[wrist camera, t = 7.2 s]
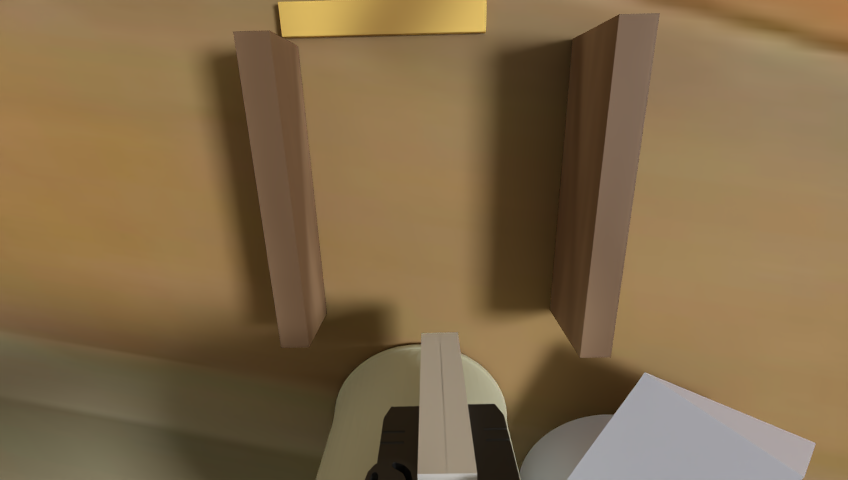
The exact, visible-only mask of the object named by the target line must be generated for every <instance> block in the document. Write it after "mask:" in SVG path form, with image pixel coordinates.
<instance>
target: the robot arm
mask: <svg viewBox="0 0 848 480" xmlns="http://www.w3.org/2000/svg"><path fill="white" fill-rule="evenodd" d="M365 480H520V477H519V473H518V469H517V465H516V461H515V457H514V453H513V449H512V445H511V441H510V437H509V433H508V431H507V425H506V421H505V417H504V415H503V413H502V412H501V411H500V410H499V408H498V407H497V406H496V405H495V404H468V403H467V396H466V388H465V381H464V374H463V366H462V359H461V352H460V345H459V337H458V332H449V333H422V334H421V369H420V403H419V406H398V407H391V408H390V409H389V411H388V412H387V414H386V415H385V417H384V419H383V426H382V434H381V439H380V446H379V453H378V460H377V464H375V465H374V466H373V467H372V468H371V469H370V470H369V471H368V473H367V475H366V478H365Z"/></svg>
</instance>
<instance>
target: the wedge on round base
mask: <svg viewBox="0 0 848 480" xmlns="http://www.w3.org/2000/svg"><path fill="white" fill-rule="evenodd" d="M815 444H816V443H814V442H812V441H809V440H807V439H804V438H802V437H800V436H797V435H795V434H792V433H790V432H787V431H785V430H783V429H780V428H778V427H775V426H773V425H771V424H768V423H766V422H763V421H761V420H759V419H756V418H754V417H751V416H749V415H747V414H744V413H742V412H739V411H737V410H734V409H732V408H730V407H727V406H725V405H722V404H720V403H718V402H715V401H713V400H710V399H708V398H706V397H703V396H701V395H698V394H696V393H694V392H691V391H689V390H686V389H684V388H681V387H679V386H677V385H674V384H672V383H669V382H667V381H665V380H662V379H660V378H657V377H655V376H653V375H650V374H648V373H644V374H643V376H642V377H641V378H640V380H639V381H638V383H637V384H636V385H635V387H634V388H633V389H632V391H631V392H630V394H629V395H628V396H627V398H626V399H625V400H624V402H623V403H622V405H621V406H620V407H619V409H618V410H617V411H616V413H615V414H614V415H606V414H603V415H593V416H587V417H583V418H579V419H576V420H573V421H569V422H567V423H565V424H563V425H560V426H559V427H557V428H555V429H553V430H552V431H550V432H549V433H547V434H546V435H545V436H543V437H542V438H541V439H540V440H539V441H538V442H537V443H536V444H535V445H534V446H533V447H532V448H531V450H530V451H529V452H528V454H527V456H526V457H525V459H524V461H523V464H522V466H521V469H520V474H519V475H520V479H521V480H802V479H803V478H804V476H805V473H806V471H807V468H808V465H809V462H810V459H811V456H812V453H813V450H814V447H815Z"/></svg>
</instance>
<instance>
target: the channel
mask: <svg viewBox="0 0 848 480" xmlns="http://www.w3.org/2000/svg"><path fill="white" fill-rule="evenodd" d="M486 4H487V0H334V1H296V2H278V7H279V15H280V24H281V32H282V37H284V38H309V37H348V36H387V35H426V34H465V33H485V32H486ZM659 14H660V13H653V14H619V15H617V16H615V17H614V18H612V19H610V20H608V21H606V22H604V23H602V24H600V25H598V26H597V27H595V28H593V29H591V30H589V31H587V32H585V33H583V34H581V35H579V36H578V37H576V38H574V39H573V40H572V52H571V64H570V76H569V87H568V99H567V111H566V123H565V135H564V147H563V159H562V171H561V183H560V194H559V206H558V218H557V230H556V242H555V254H554V266H553V278H552V289H551V301H550V311H551V312H552V314H553V316H554V317H555V319H556V320H557V322H558V324H559V325H560V327H561V328H562V330H563V332H564V333H565V335H566V336H567V338H568V339H569V341H570V343H571V344H572V346H573V347H574V349H575V351H576V352H577V354H578V355H579V357H580V358H597V357H611V352H612V345H613V337H614V330H615V323H616V316H617V309H618V302H619V295H620V288H621V281H622V274H623V267H624V260H625V253H626V246H627V239H628V232H629V225H630V218H631V211H632V204H633V197H634V190H635V183H636V176H637V169H638V162H639V155H640V148H641V141H642V134H643V127H644V120H645V113H646V106H647V99H648V92H649V84H650V77H651V70H652V63H653V56H654V49H655V42H656V35H657V28H658V21H659ZM233 34H234V40H235V47H236V53H237V60H238V67H239V73H240V80H241V86H242V93H243V100H244V106H245V113H246V119H247V126H248V133H249V139H250V146H251V152H252V159H253V166H254V172H255V179H256V185H257V192H258V198H259V205H260V212H261V218H262V225H263V231H264V238H265V245H266V251H267V258H268V264H269V271H270V278H271V284H272V291H273V297H274V304H275V311H276V317H277V324H278V330H279V337H280V344H281V348H295V347H310V345H311V343H312V341H313V339H314V337H315V335H316V333H317V331H318V329H319V327H320V325H321V324H322V322H323V320H324V318H325V316H326V314H327V311H326V301H325V292H324V283H323V273H322V264H321V255H320V246H319V236H318V227H317V218H316V208H315V199H314V190H313V181H312V171H311V162H310V153H309V143H308V134H307V125H306V116H305V106H304V97H303V88H302V79H301V69H300V60H299V51H298V46H297V45H295V44H293V43H291V42H290V41H288V40H286V39H284V38H282V37H280V36H278V35H276V34H275V33H273V32H271V31H236V32H233Z"/></svg>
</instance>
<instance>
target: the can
mask: <svg viewBox="0 0 848 480" xmlns="http://www.w3.org/2000/svg"><path fill="white" fill-rule="evenodd" d="M461 359H462V366H463V374H464V381H465V388H466V396H467V403H468V404H495V405H496V406H497V407H498V408H499V410H500V411H501V412H502V413H503V415H504V417H505V421H506V425H507V431H508V433H509V429H508V424H507V410H506V404H505V400H504V397H503V394H502V392H501V390H500V388H499V386H498V384H497V383H496V381H495V380H494V379H493V377H492V376H491V375H490V374H489V372H488V371H487V370H486V369H485V368H483V367H482V366H481V365H480V364H479V363H477V362H476V361H474V360H473V359H471V358H470V357H468V356H466V355H464V354H462V353H461ZM420 369H421V344H414V345H405V346H399V347H394V348H391V349H388V350H385V351H382V352H380V353H378V354H376V355H374V356H372V357H370V358H369V359H367V360H366V361H364V362H363V363H361V364H360V365H359V366H358V367H357V368H356V369H355V370H354V371H353V372H352V373H351V374H350V375H349V376H348V378H347V379H346V380H345V382H344V383H343V385H342V387H341V389H340V391H339V394H338V397H337V400H336V405H335V414H334V419H333V423H332V427H331V430H330V434H329V437H328V440H327V444H326V447H325V451H324V454H323V457H322V460H321V464H320V467H319V470H318V473H317V477H316V480H365V478H366V475H367V473H368V471H369V470H370V469H371V468H372V467H373V466H374V465H375V464H377V460H378V453H379V446H380V439H381V434H382V426H383V419H384V417H385V415H386V414H387V412H388V411H389V409H390V408H391V407H398V406H419V403H420ZM509 437H510V433H509ZM510 441H511V437H510ZM511 445H512V442H511ZM512 449H513V446H512ZM513 453H514V450H513ZM514 457H515V454H514ZM515 461H516V459H515ZM516 465H517V463H516ZM517 469H518V467H517ZM518 473H519V471H518ZM519 477H520V475H519ZM520 480H521V479H520Z"/></svg>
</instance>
